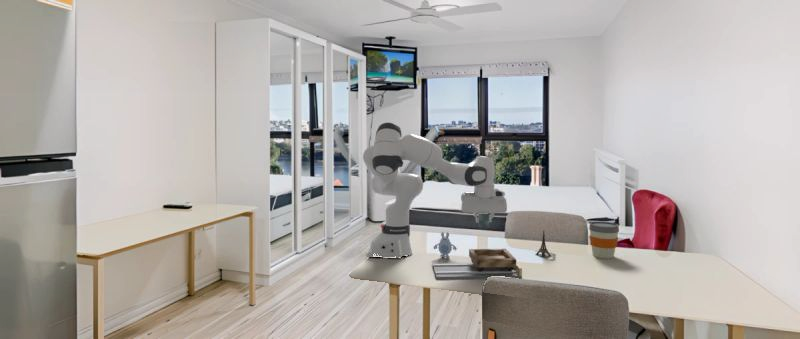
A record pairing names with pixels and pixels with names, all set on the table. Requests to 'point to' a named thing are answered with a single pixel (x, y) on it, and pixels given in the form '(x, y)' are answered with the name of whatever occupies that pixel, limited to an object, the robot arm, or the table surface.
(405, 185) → the robot arm
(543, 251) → the eiffel tower figurine
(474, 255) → the shallow wooden tray
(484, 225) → the slate block
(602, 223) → the reusable coffee cup
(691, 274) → the table surface
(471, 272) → the track
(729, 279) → the table surface
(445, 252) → the toy figure
